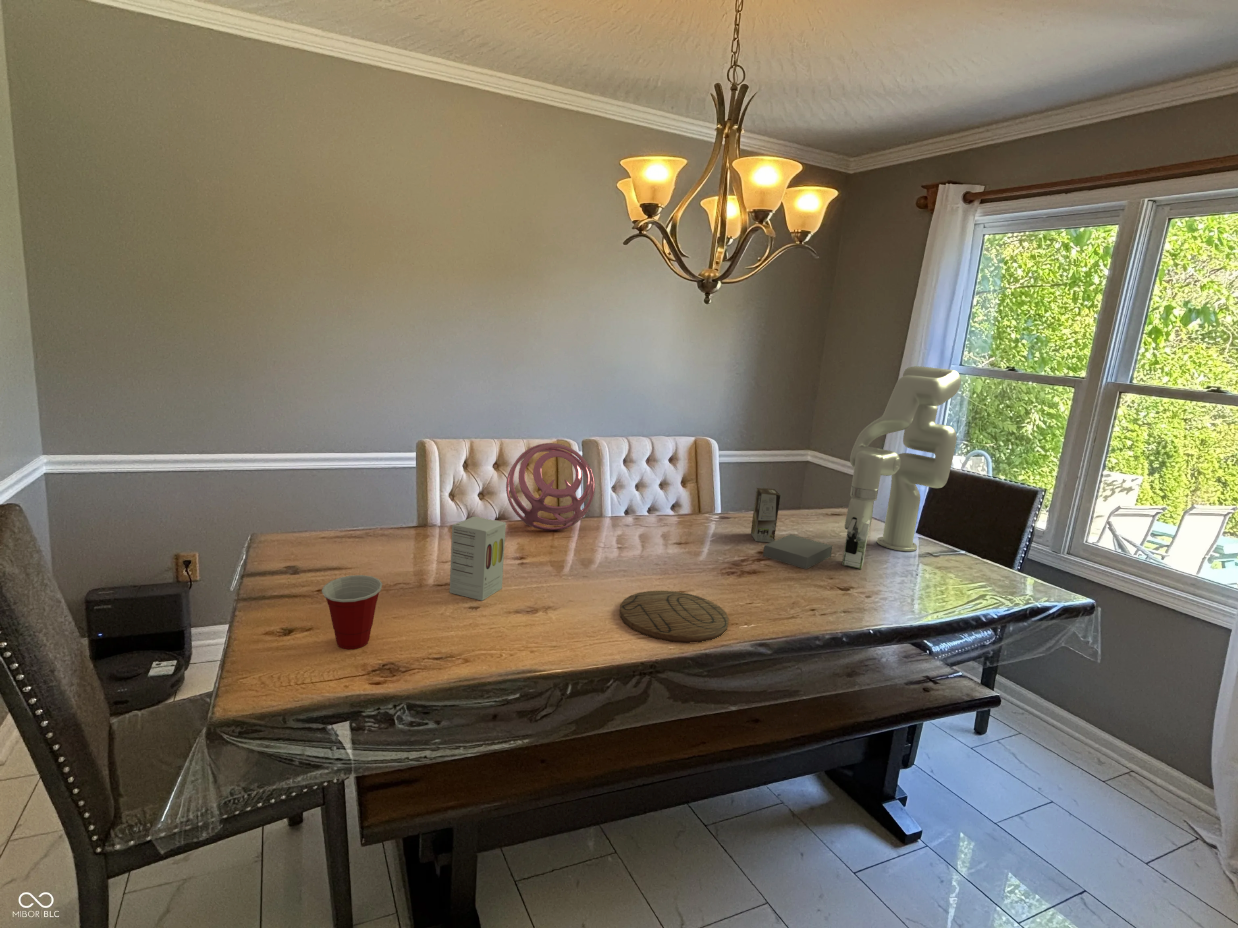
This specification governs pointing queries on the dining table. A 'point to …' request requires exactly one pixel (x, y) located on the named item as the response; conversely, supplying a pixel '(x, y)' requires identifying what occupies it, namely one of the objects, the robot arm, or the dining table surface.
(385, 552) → the dining table surface
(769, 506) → the coffee box
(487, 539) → the supplement box
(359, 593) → the plastic cup
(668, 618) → the trivet
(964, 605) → the dining table surface
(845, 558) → the syrup box
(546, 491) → the pink openwork sphere
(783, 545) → the plate
